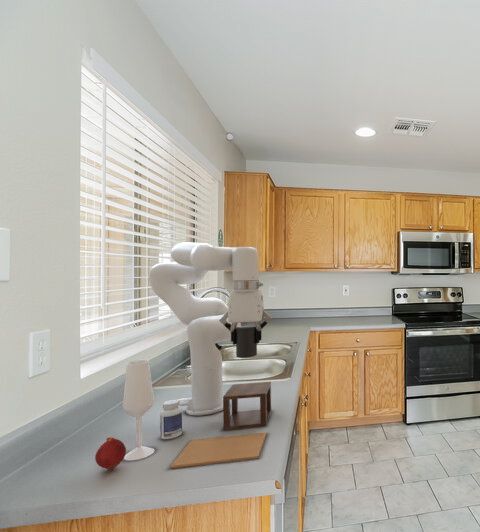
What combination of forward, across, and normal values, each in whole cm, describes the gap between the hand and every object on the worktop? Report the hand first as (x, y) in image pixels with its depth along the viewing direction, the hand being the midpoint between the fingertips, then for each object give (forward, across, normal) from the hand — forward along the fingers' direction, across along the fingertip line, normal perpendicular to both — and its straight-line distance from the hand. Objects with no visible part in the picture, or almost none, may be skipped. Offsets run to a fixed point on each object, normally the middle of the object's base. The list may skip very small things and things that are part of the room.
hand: (246, 342), depth 117 cm
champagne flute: (+25, +24, +16) cm, 38 cm away
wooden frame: (+25, 0, 0) cm, 25 cm away
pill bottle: (+25, +20, +6) cm, 32 cm away
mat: (+25, +3, +19) cm, 31 cm away
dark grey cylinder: (+4, 0, 0) cm, 4 cm away
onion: (+25, +27, +22) cm, 43 cm away
